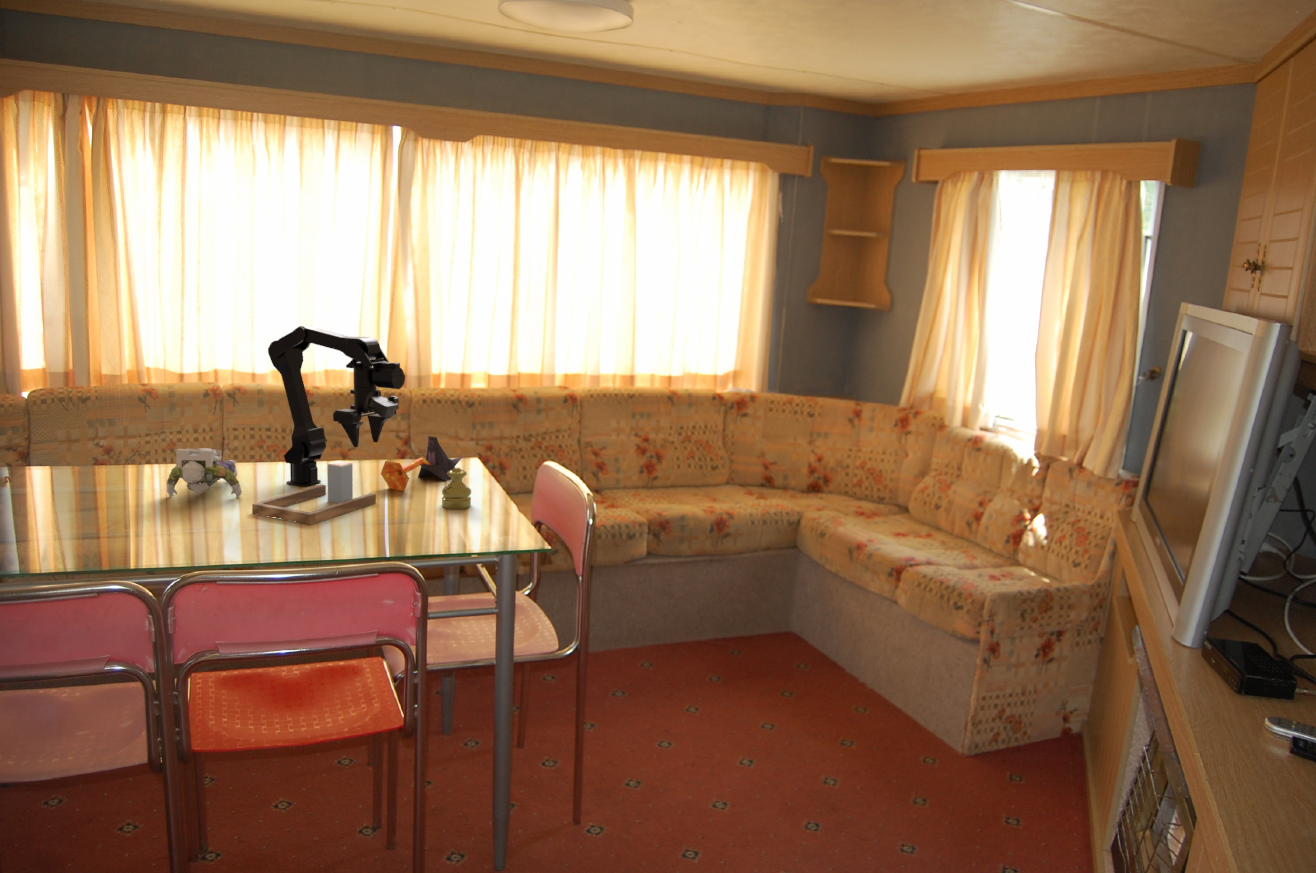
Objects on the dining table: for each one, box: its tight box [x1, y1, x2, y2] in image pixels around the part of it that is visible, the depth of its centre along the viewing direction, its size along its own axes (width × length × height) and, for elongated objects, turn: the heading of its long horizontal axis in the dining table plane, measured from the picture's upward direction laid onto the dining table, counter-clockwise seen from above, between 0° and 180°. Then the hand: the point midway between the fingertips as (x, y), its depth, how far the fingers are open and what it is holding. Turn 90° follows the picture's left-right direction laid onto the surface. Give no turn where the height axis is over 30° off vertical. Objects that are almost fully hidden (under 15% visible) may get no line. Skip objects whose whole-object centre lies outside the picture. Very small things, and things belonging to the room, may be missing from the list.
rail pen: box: [251, 484, 377, 526], centre depth 228 cm, size 18×24×2 cm
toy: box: [166, 447, 243, 499], centre depth 235 cm, size 18×12×30 cm
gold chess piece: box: [441, 467, 472, 510], centre depth 237 cm, size 7×7×10 cm
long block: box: [327, 460, 354, 504], centre depth 235 cm, size 4×4×10 cm
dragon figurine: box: [380, 435, 463, 492], centre depth 260 cm, size 10×12×25 cm
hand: (365, 444), depth 243 cm, fingers open, 8 cm apart
